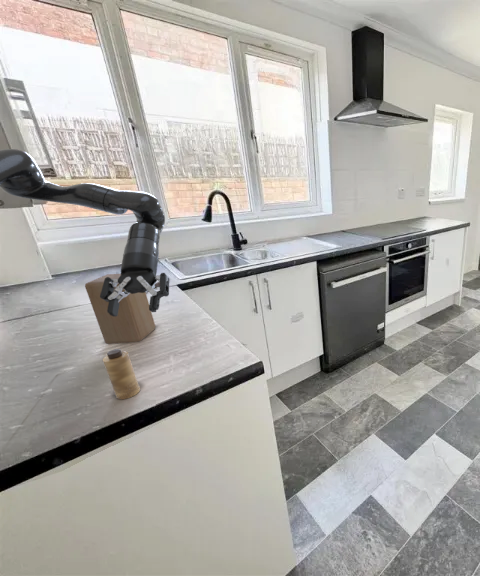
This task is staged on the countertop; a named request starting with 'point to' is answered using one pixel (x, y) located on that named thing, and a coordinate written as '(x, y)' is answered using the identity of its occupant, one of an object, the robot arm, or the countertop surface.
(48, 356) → the countertop surface
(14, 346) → the countertop surface
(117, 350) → the pepper mill
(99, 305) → the block
